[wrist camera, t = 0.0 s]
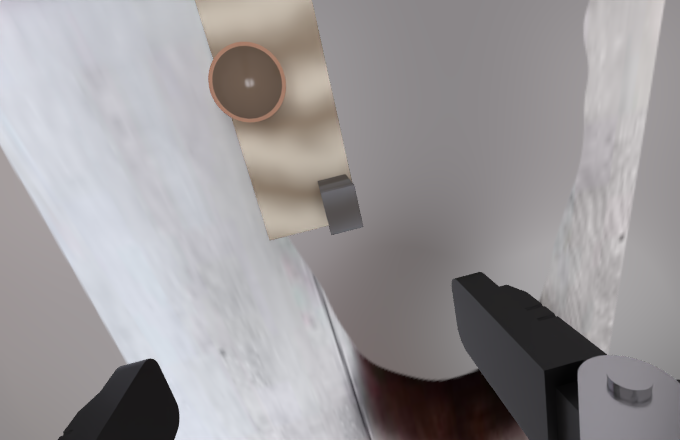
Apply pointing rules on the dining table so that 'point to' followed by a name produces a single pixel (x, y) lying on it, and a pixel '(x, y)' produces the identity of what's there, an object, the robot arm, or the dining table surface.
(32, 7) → the dining table surface
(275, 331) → the dining table surface
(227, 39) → the birch board
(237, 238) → the dining table surface
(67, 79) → the dining table surface
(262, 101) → the terracotta pot
